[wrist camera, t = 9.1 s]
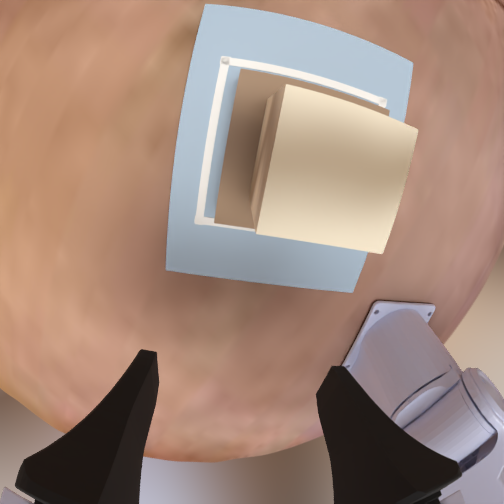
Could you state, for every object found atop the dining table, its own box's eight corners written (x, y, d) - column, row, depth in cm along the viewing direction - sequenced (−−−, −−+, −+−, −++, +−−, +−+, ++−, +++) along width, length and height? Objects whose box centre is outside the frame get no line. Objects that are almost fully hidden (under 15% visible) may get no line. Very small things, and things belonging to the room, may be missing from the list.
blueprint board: (348, 286, 21) (353, 293, 20) (168, 263, 20) (165, 271, 19) (405, 64, 14) (414, 62, 13) (206, 9, 12) (205, 3, 11)
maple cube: (340, 213, 14) (382, 254, 10) (248, 196, 14) (255, 233, 9) (362, 124, 12) (418, 129, 8) (267, 99, 12) (286, 83, 7)
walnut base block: (337, 226, 18) (354, 245, 15) (217, 206, 17) (213, 223, 14) (366, 110, 15) (389, 110, 12) (239, 78, 14) (240, 68, 11)
